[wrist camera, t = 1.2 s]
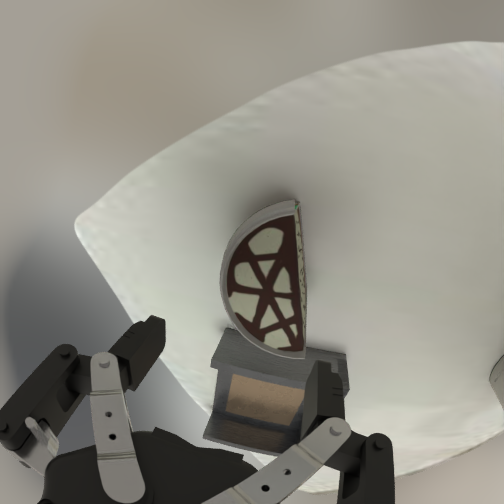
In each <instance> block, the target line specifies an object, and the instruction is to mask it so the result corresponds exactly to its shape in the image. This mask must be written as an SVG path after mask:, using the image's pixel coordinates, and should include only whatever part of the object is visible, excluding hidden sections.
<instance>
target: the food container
mask: <svg viewBox="0 0 504 504" xmlns="http://www.w3.org/2000/svg"><path fill="white" fill-rule="evenodd" d="M220 291H221V297H222V300H223V303H224V307H225V310H226V312H227V314H228V316H229V318H230V320H231V322H232V323H233V324H234V326H235V327H236V329H237V330H238V331H239V332H240V333H241V334H242V335H243V336H244V337H245V338H246V339H247V340H249V341H250V342H251V343H252V344H254V345H256V346H257V347H259V348H260V349H262V350H264V351H267V352H269V353H271V354H274V355H278V356H281V357H286V358H292V359H305V352H306V347H305V345H306V314H307V283H306V268H305V255H304V242H303V231H302V220H301V210H300V202H297V203H295V199H294V200H288V201H283V202H279V203H276V204H273V205H270V206H268V207H266V208H264V209H262V210H260V211H258V212H256V213H255V214H254V215H252V216H251V217H250V218H248V219H247V220H246V221H245V222H244V223H243V224H242V225H241V226H240V227H239V228H238V229H237V230H236V232H235V233H234V235H233V236H232V238H231V239H230V241H229V243H228V246H227V248H226V250H225V253H224V257H223V261H222V266H221V271H220Z"/></svg>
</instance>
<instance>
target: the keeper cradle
mask: <svg viewBox="0 0 504 504" xmlns="http://www.w3.org/2000/svg"><path fill="white" fill-rule="evenodd" d="M316 360H322V361H327V362H331V370H332V372H333V373H338V374H339V376H340V378H341V379H342V382H343V394H344V395H343V397H344V398H345V396H346V395H347V393H348V391H349V390H350V388H349V379H348V369H347V361H346V355H345V354H340V353H334V352H329V351H324V350H319V349H314V348H309V347H306V352H305V359H292V358H286V357H281V356H278V355H274V354H271V353H269V352H267V351H264V350H262V349H260V348H259V347H257V346H256V345H254V344H252V343H251V342H250V341H249V340H247V339H246V338H245V337H244V336H243V335H242V334H241V333H240V332H239V331H237V330H233V329H229V328H226V330H225V332H224V334H223V336H222V338H221V340H220V342H219V344H218V347H217V349H216V351H215V353H214V355H213V357H212V359H211V367H212V368H215V369H218V377H217V384H216V391H215V398H214V405H213V411H212V414H211V416H210V419H209V421H208V424H207V426H206V429H205V431H204V434H203V438H204V439H207V440H210V441H213V442H217V443H221V444H224V445H228V446H232V447H235V448H239V449H244V450H248V451H252V452H257V453H262V454H267V455H272V456H278V457H279V456H280V455H281V454H282V453H284V452H285V451H286V450H288V449H289V448H290V447H292V446H293V445H295V444H299V443H300V442H301V441H302V440H301V429H302V418H303V405H304V391H305V385H306V381H307V379H308V377H309V374H310V372H311V370H312V368H313V365H314V363H315V361H316Z"/></svg>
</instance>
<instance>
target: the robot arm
mask: <svg viewBox="0 0 504 504" xmlns="http://www.w3.org/2000/svg"><path fill="white" fill-rule="evenodd" d="M165 342H166V330H165V319H162V318H159V317H156V316H153V315H151V316H150V317H149V318H148V319H147V320H146V321H145V322H143V321H139V322H137V323H135V324H133V325H132V326H131V327H130V328H129V329H128V330H127V331H126V332H125V333H124V334H123V336H122V337H121V338H120V339H119V340H118V341H117V342H116V343H115V344H114V345H113V346H112V348H111V349H110V350H109V351H108V352H100V353H97V354H95V355H94V356H93V357H90V356H85V355H80V354H78V352H77V350H76V348H75V347H74V346H72V345H70V344H62V345H60V346H58V347H57V348H55V349H54V350H53V351H52V352H51V354H50V355H49V356H48V357H47V358H46V359H45V360H44V361H43V362H42V363H41V364H40V365H39V366H38V367H37V368H36V370H35V371H34V372H33V373H32V374H31V375H30V376H29V377H28V378H27V379H26V380H25V382H24V383H23V384H22V385H21V386H20V387H19V388H18V390H17V391H16V392H15V393H14V394H13V395H12V397H11V398H10V399H9V400H8V401H7V403H6V404H5V405H4V406H3V407H2V408H1V410H0V442H1V444H2V445H3V446H4V448H5V449H6V450H7V451H9V453H10V454H11V455H12V456H13V457H14V458H16V459H17V460H19V462H21V463H22V464H23V465H24V466H26V467H28V468H32V469H34V470H35V471H37V472H38V473H39V474H41V475H42V476H43V477H44V478H45V479H44V480H45V481H44V490H43V495H42V498H41V500H40V501H39V502H38V503H37V504H280V503H281V502H282V501H283V500H284V499H286V498H287V497H288V496H290V495H291V494H292V493H293V492H294V491H295V490H297V489H298V488H299V487H300V486H301V485H302V484H303V483H305V482H306V481H307V480H308V479H309V478H310V477H311V476H312V475H314V474H315V473H316V472H317V471H318V470H319V469H320V468H321V467H322V466H323V465H325V466H328V467H331V468H333V469H336V470H339V471H340V480H339V490H338V499H337V504H395V485H394V484H395V482H394V461H393V447H392V442H391V440H390V439H389V438H388V437H387V436H386V435H384V434H381V433H374V434H371V435H370V436H369V437H366V436H363V435H361V434H358V433H355V432H354V431H352V430H351V428H350V426H349V424H348V423H347V422H346V421H345V409H344V397H343V395H344V394H343V382H342V379H341V378H340V376H339V374H338V373H333V372H332V370H331V362H327V361H322V360H316V361H315V363H314V365H313V368H312V370H311V372H310V374H309V377H308V379H307V381H306V385H305V391H304V405H303V418H302V429H301V440H302V441H301V442H300V443H299V444H295V445H293V446H292V447H290V448H289V449H288V450H286V451H285V452H284V453H282V454H281V455H280V456H279V457H277V458H276V459H274V460H273V461H272V462H270V463H269V464H268V465H266V466H265V467H263V468H262V469H261V470H259V471H258V470H257V469H256V468H254V467H253V466H252V465H251V464H249V463H247V462H245V461H243V460H242V459H243V456H244V455H242V454H238V453H234V452H230V451H226V450H223V449H213V448H200V447H196V446H194V445H192V444H190V443H189V442H187V441H185V440H184V439H182V438H180V437H179V436H177V435H175V434H172V433H170V432H168V431H165V430H162V429H159V428H157V427H155V429H154V431H153V432H151V431H136V432H133V429H132V425H131V421H130V417H129V412H128V408H127V403H126V398H125V392H126V390H127V389H130V390H132V391H135V390H136V389H137V387H138V386H139V384H140V383H141V382H142V380H143V379H144V377H145V376H146V374H147V373H148V371H149V370H150V368H151V367H152V365H153V364H154V363H155V361H156V360H157V358H158V357H159V356H160V354H161V353H162V351H163V349H164V347H165ZM490 384H491V386H492V388H493V390H494V391H495V393H496V395H497V397H498V400H499V402H500V404H501V406H502V408H503V410H504V356H503V357H502V358H501V359H500V361H499V362H498V363H497V365H496V366H495V368H494V369H493V371H492V373H491V376H490ZM85 395H90V402H91V412H92V421H93V429H94V435H95V442H96V445H92V446H89V447H86V448H82V449H79V450H76V451H72V452H68V453H65V454H61V455H58V456H56V454H57V450H58V447H59V443H58V439H57V436H58V434H59V433H60V431H61V430H62V429H63V427H64V426H65V424H66V423H67V421H68V420H69V418H70V417H71V415H72V414H73V413H74V411H75V410H76V408H77V407H78V405H79V404H80V402H81V401H82V400H83V398H84V397H85Z"/></svg>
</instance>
